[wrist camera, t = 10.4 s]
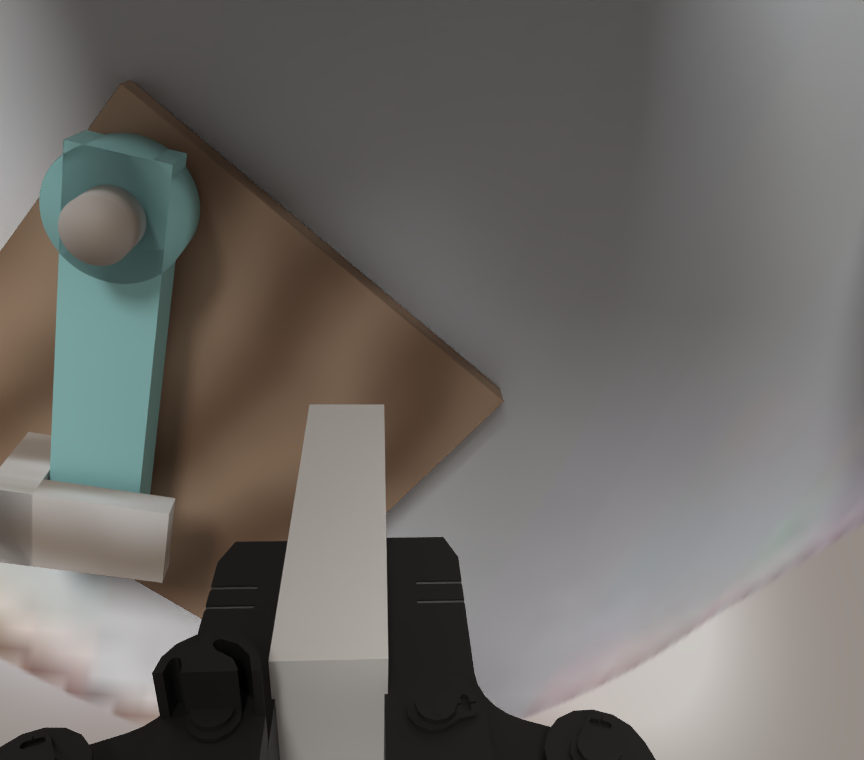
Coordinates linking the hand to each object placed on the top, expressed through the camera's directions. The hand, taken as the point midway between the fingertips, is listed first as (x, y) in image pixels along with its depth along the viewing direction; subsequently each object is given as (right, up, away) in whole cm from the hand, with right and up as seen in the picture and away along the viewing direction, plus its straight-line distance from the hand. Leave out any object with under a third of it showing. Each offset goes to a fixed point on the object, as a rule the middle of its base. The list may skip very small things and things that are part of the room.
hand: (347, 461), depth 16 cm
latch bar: (-13, +3, +19) cm, 23 cm away
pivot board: (-10, +1, +23) cm, 25 cm away
